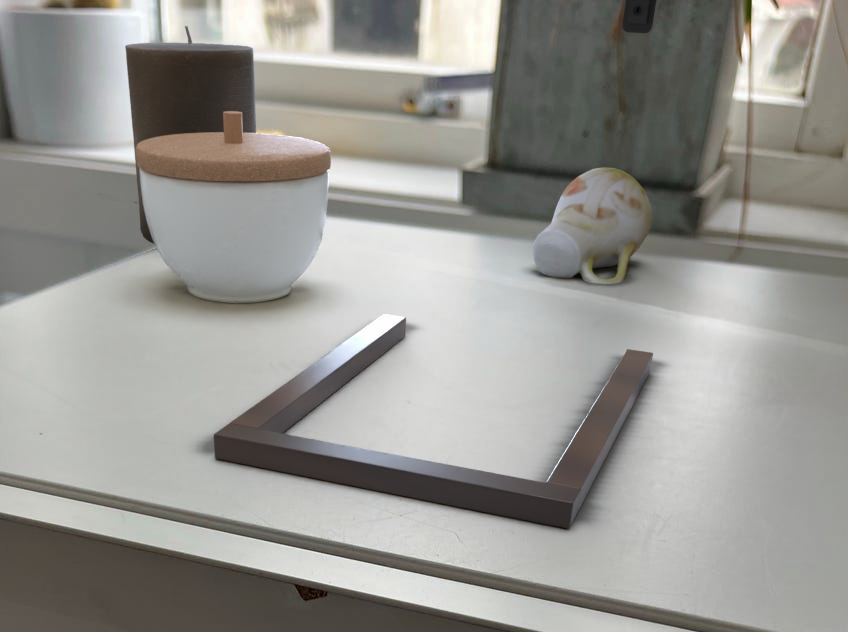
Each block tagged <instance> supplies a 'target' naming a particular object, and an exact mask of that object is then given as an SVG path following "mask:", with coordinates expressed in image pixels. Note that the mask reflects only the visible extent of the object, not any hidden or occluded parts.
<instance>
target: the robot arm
mask: <svg viewBox="0 0 848 632" xmlns="http://www.w3.org/2000/svg"><path fill="white" fill-rule="evenodd" d="M659 4H660V0H625V4H624V12H623V18H622V23H621V24H622V26H621V27H622V30H623V32H625V33H631V34H633V33H634V34H648V33H651V32H652V31H654V29H655V27H656V23H657V17H658V10H659Z"/></svg>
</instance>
